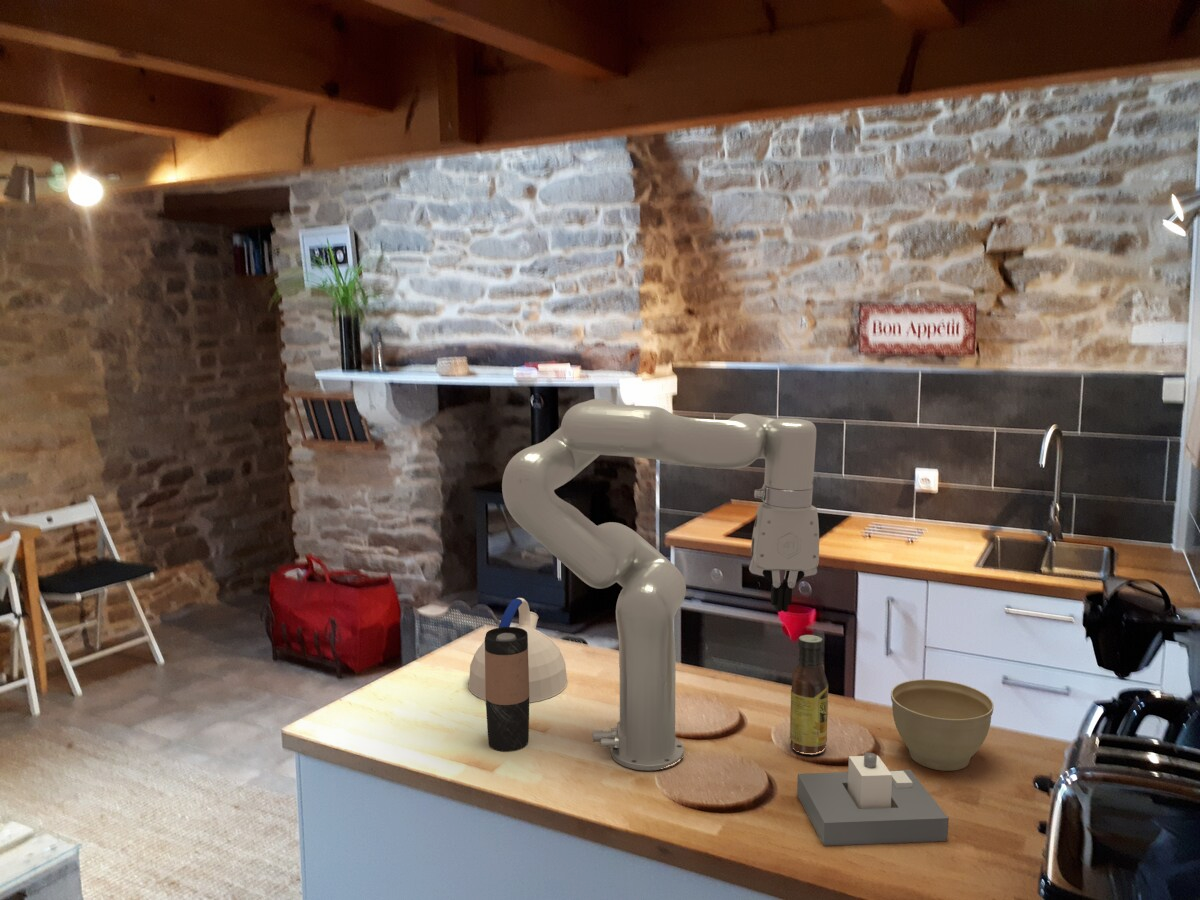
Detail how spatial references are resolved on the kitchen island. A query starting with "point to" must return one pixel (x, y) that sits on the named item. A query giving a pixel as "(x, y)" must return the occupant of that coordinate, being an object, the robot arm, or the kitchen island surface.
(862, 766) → the plug
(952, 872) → the kitchen island surface
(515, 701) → the travel mug
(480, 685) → the kettle
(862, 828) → the socket
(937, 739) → the planter bowl
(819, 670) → the sauce bottle
